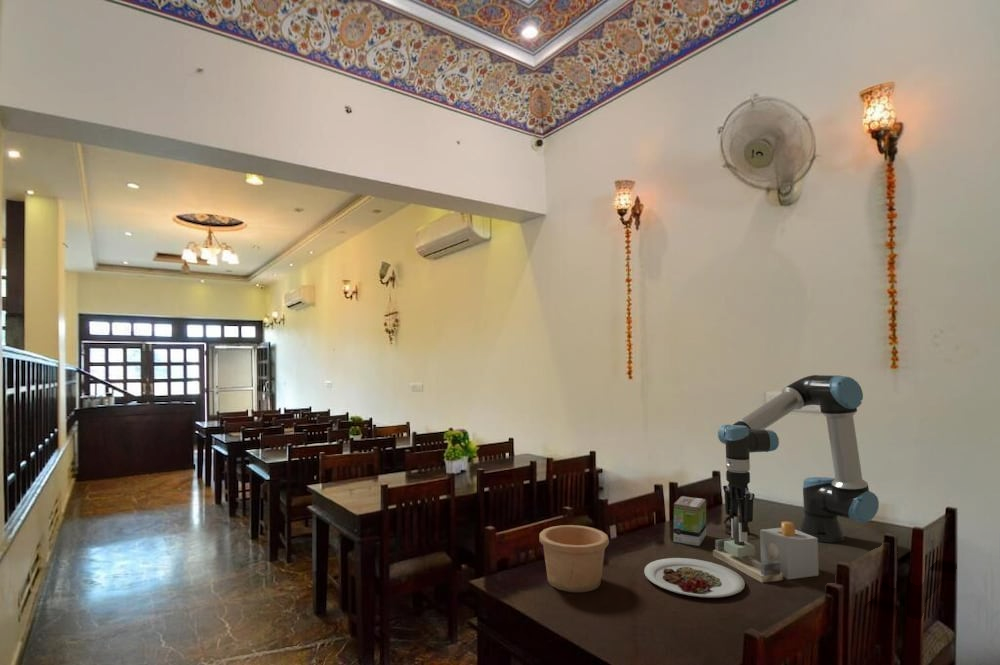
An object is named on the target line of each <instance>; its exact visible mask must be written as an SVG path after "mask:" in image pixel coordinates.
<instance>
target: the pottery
mask: <svg viewBox="0 0 1000 665" xmlns="http://www.w3.org/2000/svg"><path fill="white" fill-rule="evenodd" d="M538 537H539V539H538V540H539V541H538V542H539V543H540V544H541V545H542V546H543V556H544V561H545V567H546V568H545V570H546V578H547V582H548V584H549V585H550V586H551V587H553V588H555V589H557V590H559V591H563V592H568V593H575V594H576V593H588V592H592V591H594V590H596V589H598V588H599V587H600V585H601V584H602V583H601V582H602V581H601V580H602V575H603V574H602V573H603V565H604V559H605V551H606V548H607V546H608V545H609V544H610V539H609V536H608V534H606V533H605V532H604V531H602V530H600V529H598V528H595V527H590V526H585V525H578V524H577V525H575V524H574V525H573V524H565V525H564V524H563V525H562V524H561V525H556V526H550V527H547V528H544V529H542V531H541V532H540V533H539V536H538Z"/></svg>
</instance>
